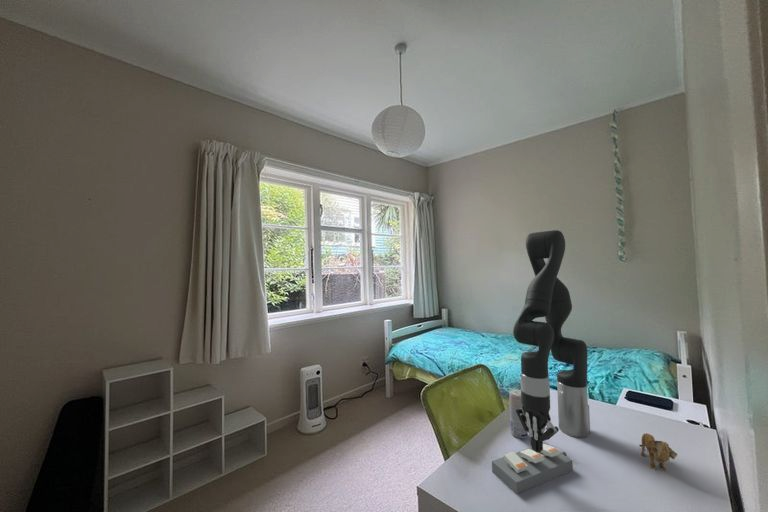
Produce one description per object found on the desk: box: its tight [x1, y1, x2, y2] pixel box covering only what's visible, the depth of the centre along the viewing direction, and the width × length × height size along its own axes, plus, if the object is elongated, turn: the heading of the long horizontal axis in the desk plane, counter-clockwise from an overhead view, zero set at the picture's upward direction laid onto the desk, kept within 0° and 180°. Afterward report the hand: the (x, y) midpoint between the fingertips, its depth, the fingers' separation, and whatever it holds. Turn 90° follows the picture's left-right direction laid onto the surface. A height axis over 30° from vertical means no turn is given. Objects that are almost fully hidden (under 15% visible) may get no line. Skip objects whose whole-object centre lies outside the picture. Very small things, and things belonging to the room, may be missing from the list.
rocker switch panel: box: [491, 442, 574, 495], centre depth 85 cm, size 25×9×3 cm, turn 112°
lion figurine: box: [639, 432, 678, 471], centre depth 87 cm, size 15×5×9 cm, turn 164°
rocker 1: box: [503, 450, 528, 473], centre depth 82 cm, size 4×5×2 cm
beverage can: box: [508, 388, 529, 439], centre depth 102 cm, size 6×6×15 cm
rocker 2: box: [541, 443, 561, 457], centre depth 87 cm, size 4×5×2 cm
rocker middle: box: [520, 448, 544, 463], centre depth 84 cm, size 4×5×2 cm
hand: (536, 450), depth 82 cm, fingers closed
